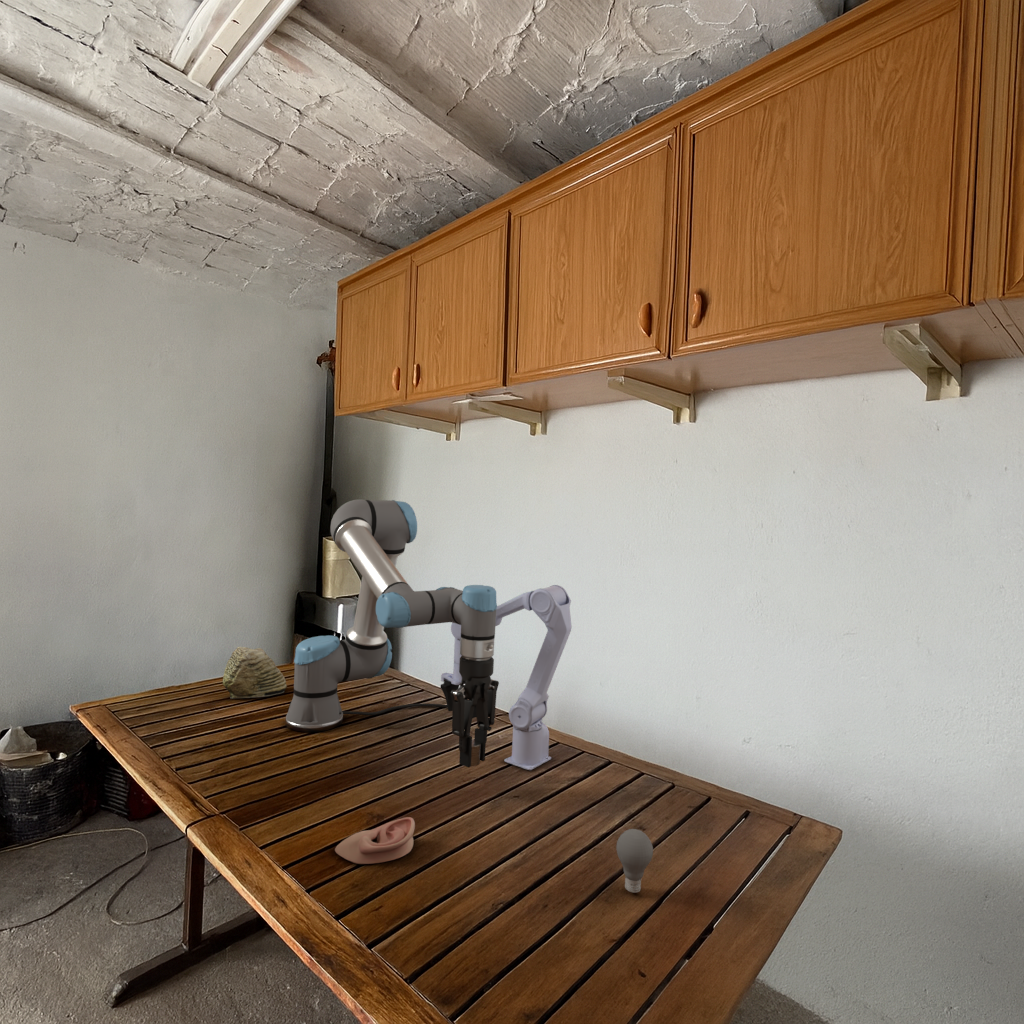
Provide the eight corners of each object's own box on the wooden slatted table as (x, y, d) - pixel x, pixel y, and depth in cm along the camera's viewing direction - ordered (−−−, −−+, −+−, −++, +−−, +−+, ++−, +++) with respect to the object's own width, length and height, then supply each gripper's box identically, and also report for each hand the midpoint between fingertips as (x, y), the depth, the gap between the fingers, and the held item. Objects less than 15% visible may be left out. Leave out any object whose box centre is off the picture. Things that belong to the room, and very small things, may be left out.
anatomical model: (327, 836, 111) (356, 806, 122) (326, 858, 111) (355, 826, 122) (398, 848, 108) (421, 815, 119) (397, 871, 108) (420, 836, 119)
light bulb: (610, 879, 108) (613, 822, 108) (644, 879, 109) (647, 822, 109) (619, 902, 102) (622, 840, 102) (655, 901, 103) (658, 840, 103)
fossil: (218, 695, 195) (220, 647, 195) (278, 685, 208) (279, 640, 207) (228, 703, 189) (230, 653, 188) (289, 692, 201) (290, 645, 201)
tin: (466, 757, 142) (467, 738, 142) (482, 761, 141) (483, 741, 141) (459, 764, 139) (460, 744, 139) (475, 767, 137) (476, 747, 137)
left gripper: (462, 666, 130) (457, 779, 131) (514, 653, 143) (509, 755, 144) (437, 659, 135) (432, 768, 135) (489, 647, 148) (484, 746, 149)
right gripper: (433, 659, 166) (431, 710, 166) (476, 670, 157) (473, 724, 157) (452, 654, 172) (449, 704, 172) (493, 665, 163) (491, 717, 163)
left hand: (472, 761), depth 140 cm, fingers closed on tin, 4 cm apart
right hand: (462, 713), depth 165 cm, fingers open, 7 cm apart
